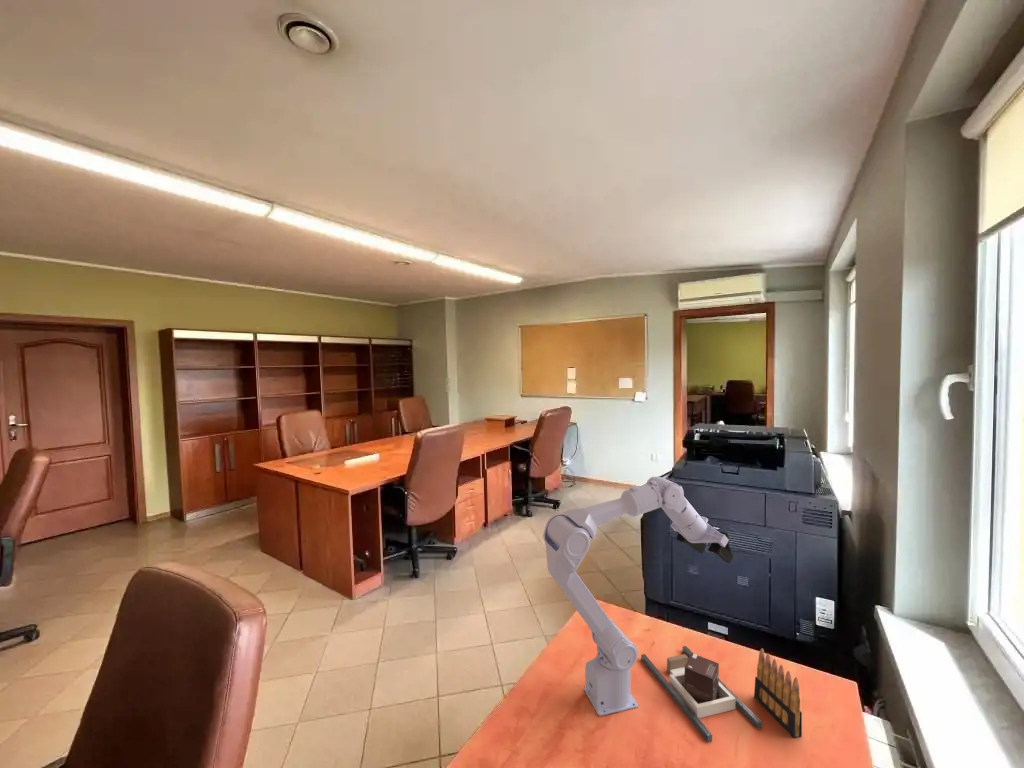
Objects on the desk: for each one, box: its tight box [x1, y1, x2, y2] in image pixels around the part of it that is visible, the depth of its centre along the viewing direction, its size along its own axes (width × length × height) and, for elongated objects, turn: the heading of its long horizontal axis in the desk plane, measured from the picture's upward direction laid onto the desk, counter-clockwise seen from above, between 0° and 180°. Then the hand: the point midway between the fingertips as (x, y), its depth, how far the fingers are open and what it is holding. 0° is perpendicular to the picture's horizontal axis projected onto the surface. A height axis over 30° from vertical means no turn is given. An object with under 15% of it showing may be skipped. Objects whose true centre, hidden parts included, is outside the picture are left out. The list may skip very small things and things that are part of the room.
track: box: [640, 645, 763, 743], centre depth 97 cm, size 13×24×2 cm, turn 15°
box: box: [683, 653, 720, 704], centre depth 95 cm, size 6×6×7 cm
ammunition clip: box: [753, 647, 803, 739], centre depth 89 cm, size 11×2×12 cm, turn 11°
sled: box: [666, 653, 736, 719], centre depth 97 cm, size 10×14×3 cm
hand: (716, 554), depth 102 cm, fingers open, 7 cm apart
